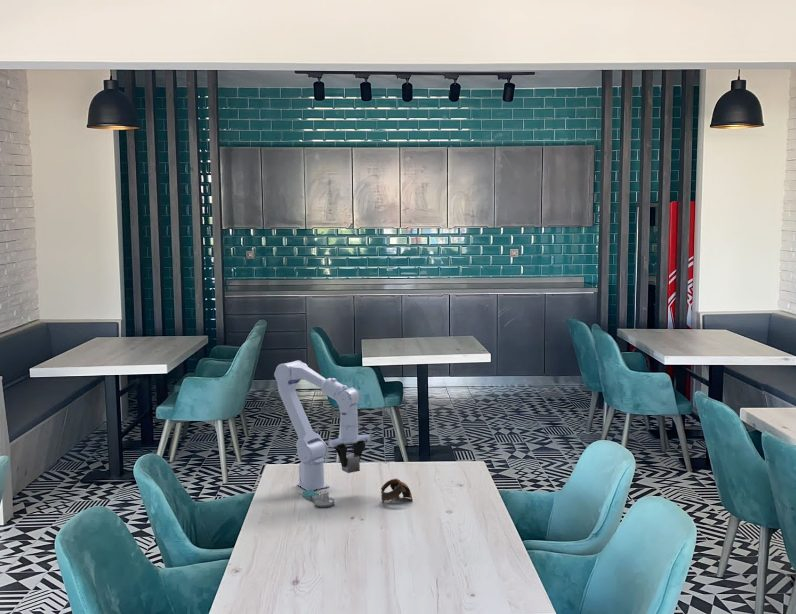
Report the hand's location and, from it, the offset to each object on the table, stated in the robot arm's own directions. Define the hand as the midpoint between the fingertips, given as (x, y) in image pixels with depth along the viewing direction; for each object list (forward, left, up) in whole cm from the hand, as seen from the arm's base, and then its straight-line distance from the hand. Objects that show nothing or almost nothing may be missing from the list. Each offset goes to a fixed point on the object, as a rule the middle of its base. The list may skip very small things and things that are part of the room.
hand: (350, 465), depth 280 cm
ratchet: (+1, -13, -9) cm, 16 cm away
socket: (0, 0, -2) cm, 2 cm away
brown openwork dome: (+16, +8, -10) cm, 20 cm away
